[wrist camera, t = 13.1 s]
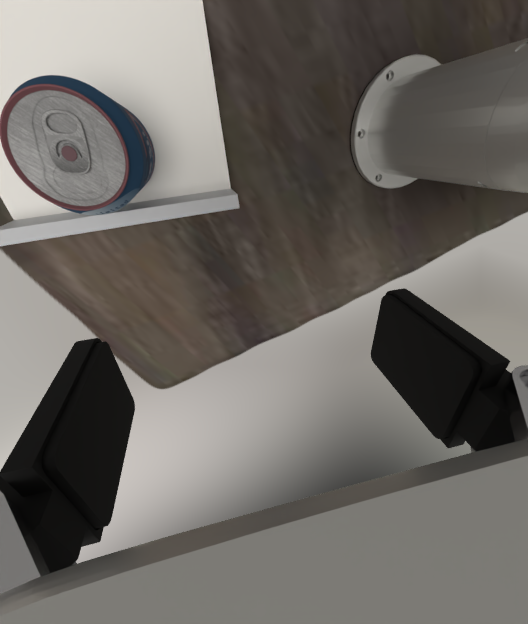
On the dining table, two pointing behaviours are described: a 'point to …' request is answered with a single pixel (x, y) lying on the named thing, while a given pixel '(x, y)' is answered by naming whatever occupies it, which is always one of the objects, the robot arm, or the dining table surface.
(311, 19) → the dining table surface
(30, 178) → the soda can
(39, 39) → the shelf
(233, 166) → the dining table surface
